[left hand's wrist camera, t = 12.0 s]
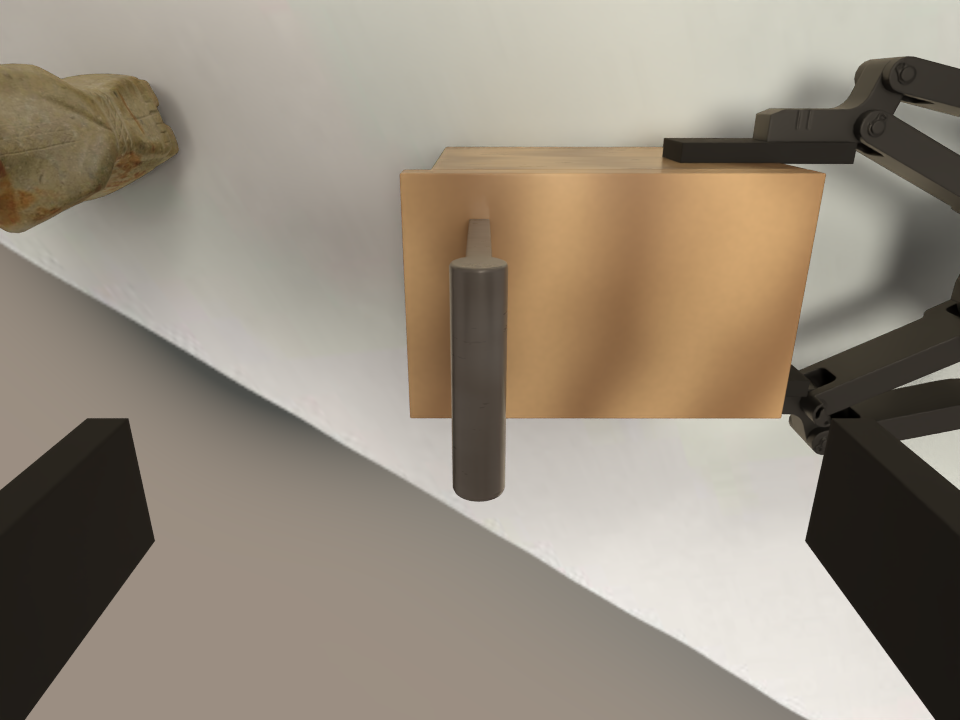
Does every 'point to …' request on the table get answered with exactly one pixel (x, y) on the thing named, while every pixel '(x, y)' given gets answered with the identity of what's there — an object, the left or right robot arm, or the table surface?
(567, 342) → the lid
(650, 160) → the chest
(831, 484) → the left robot arm
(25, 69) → the sculpture
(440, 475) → the table surface
